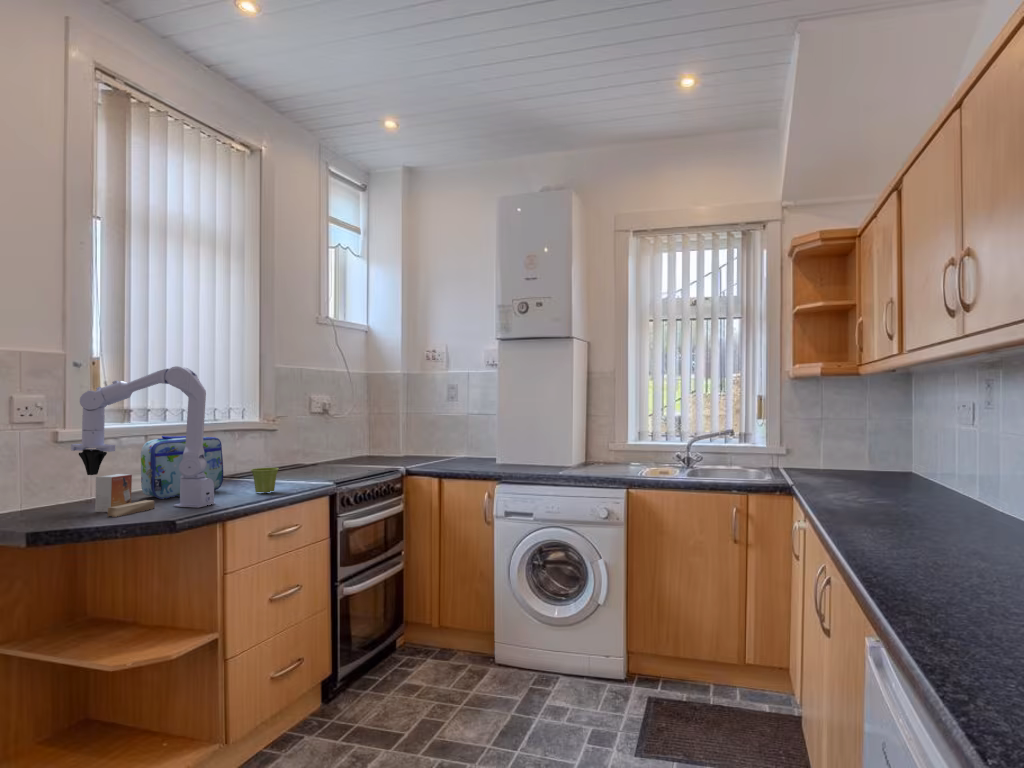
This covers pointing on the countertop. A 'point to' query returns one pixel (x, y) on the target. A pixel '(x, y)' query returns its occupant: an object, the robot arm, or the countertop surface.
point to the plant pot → (264, 479)
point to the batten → (130, 508)
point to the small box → (112, 491)
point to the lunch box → (175, 465)
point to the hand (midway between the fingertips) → (92, 474)
